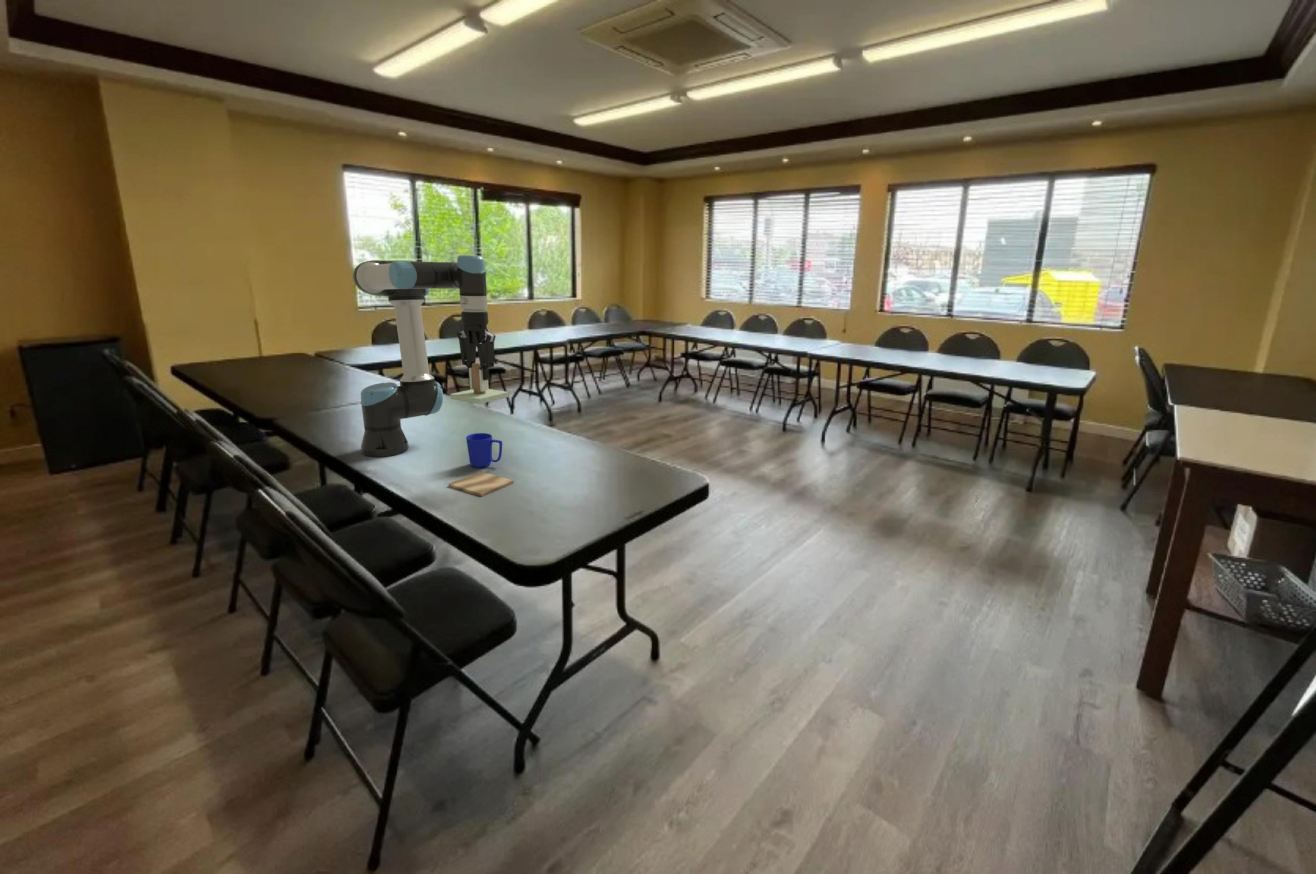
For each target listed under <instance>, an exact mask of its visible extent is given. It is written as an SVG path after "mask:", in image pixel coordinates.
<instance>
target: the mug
mask: <svg viewBox="0 0 1316 874" xmlns="http://www.w3.org/2000/svg"><path fill="white" fill-rule="evenodd" d="M465 439H466V446H467V451H468V458H469V459H468V460H469V463H470V465H471V466H472V467H474V468H485V467H488V466H490V465H491V463H497V462H499V461H500V460H501V459H502V455H503V441H502V440H499V439H493V435H492V434H490V433H486V432H485V433H484V432H477V433H470V434H468V435H467V436H466V437H465ZM493 443H498V444H499V447H498V457H497V459H493Z"/></svg>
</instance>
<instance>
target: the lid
mask: <svg viewBox="0 0 1316 874" xmlns="http://www.w3.org/2000/svg"><path fill="white" fill-rule="evenodd" d="M479 368H481V366H480V362H475V363H472V372H473V387H474V390H470V389H468V390H463V391H458V392H454V393H450V397H449V398H450V400H454V401H460V402H467V403H472V404H477V405H481V404H485V403H489V402H490V403H491V402H493V401H498V400H502V399H505V398H509V397H510V395H509V391H506V390H505V391H503V390H497V389H491V388H489V390H486V391H480V379H479Z"/></svg>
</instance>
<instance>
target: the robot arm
mask: <svg viewBox="0 0 1316 874" xmlns="http://www.w3.org/2000/svg"><path fill="white" fill-rule="evenodd" d="M456 259H457V260H456V262H455V261H415V260H414V261H412V260H411V261H410V260H379V259H377V260H375V259H374V260H373V259H372V260H367V261H363V262H360V263H359V264H357V266H355V268H354V269H353V272H352V280H353V283H354V285H355V286H356V288H358V290H360V291H361V292H363V293H365V294H368V295H370V296H376V297H387V299H388V303H390V304H391V305H392V306H393V308H394V316H395V322H396V330H397V336H398V338H397V339H398V345H399V351H400V359H401V367H402V374H403V375H402V377H400V379H399V384H400V385H397V384H396V383H395V382H380V383H375V384H371V385H368V386H366V387H365V388H363V389H362V390H361V391H360V405H361V413H362V419H363V420H362V421H363V428H364V431H363V437H362V441H361V445H360V450H361V454H362V455H364V456H365V457H366V456H367V457H372V458H373V457H377V458H378V457H380V458H383V457H390V456H391V457H392V456H396V455H400V454H403V453H405V452H407V451H408V450H409V442H408V440H407V439H408V438H407V437H406V434H405V433H404V431H403V429H402V423H401V421H402V419H405V420H406V419H409V418H410V419H411V418H416V417H423V416H424V417H426V416H427V417H428V416H429V415H435V414H436V413H438V412H439V411H440V410H441V408H442V406H443V402H444V393H443V391H444V390H443V388H442V385H441V384H440V383H439V382H438V381H436V380H435V377H434V376H433V375H432V374H431V373H430V369H429V361H428V353H427V352H428V351H427V346H426V337H425V329H424V321H423V313H422V305H423V303H424V302H425V297H426V296H427V295H428V294H429V293H430V289H433V290H435V289H437V290H438V289H439V290H440V289H441V290H442V289H459V301H460V302H459V303H460V309H461V310H462V311H461V312H460V317H461V324H462V325H464V326H463V330H461V331H457V333H456V335H457V339H458V342H459V343H458V344H459V348H460V349H459V350H460V358H461V364H462V365H463V366H466V368H467V372H468V374H467V376H468V378H469V388H470V389H469V390H474V387H473V372H472V363H476V360H477V359H476V357H477V355H478V358H479V363H480V366H481V368H479V379H480V391H486V390H489V389H490V387H489V380H490V369H491V368H494V367H495V340H496V334H494V333H490V332H489V329H488V327H487V325H488V324H489V312H488V311H487V310H488V296H487V295H488V294H487V291H488V289H487V269H486V266H485V265H486V264H485V258H484V257H483V256H481V255H469V254H468V255H462V254H461V255H458V256H457V258H456Z"/></svg>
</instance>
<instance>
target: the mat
mask: <svg viewBox="0 0 1316 874" xmlns="http://www.w3.org/2000/svg"><path fill="white" fill-rule="evenodd" d="M514 481H515V480H512V479H509V478H506V477H502V476H498V475H495V474H492V473H489V472H484V471H477V472H476V473H473V474H470V475H468V476H465V477H462V478H460V479H458V480H455V481H452V482H450V483H448V487H451V488H453V489H457V490H460V491H463V492H465V493H469V494H473V495H475V496H478V497H479V496H480V497H484V496H487V495H489V494H491V493H494V492H496V491H498V490H501V489H503V488H505V487H508V486H510V485H513V484H514Z"/></svg>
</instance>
